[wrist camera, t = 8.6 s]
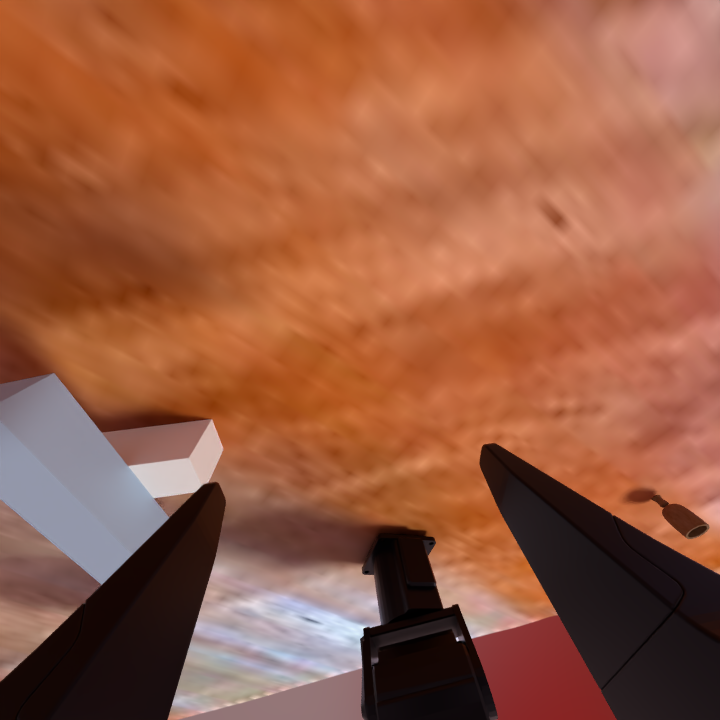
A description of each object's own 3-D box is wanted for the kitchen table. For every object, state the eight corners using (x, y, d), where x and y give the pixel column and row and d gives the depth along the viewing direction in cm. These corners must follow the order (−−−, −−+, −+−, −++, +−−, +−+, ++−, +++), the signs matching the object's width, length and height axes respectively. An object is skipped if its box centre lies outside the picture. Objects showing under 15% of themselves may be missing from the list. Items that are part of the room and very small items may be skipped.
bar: (196, 552, 21) (177, 600, 18) (157, 561, 21) (132, 610, 18) (54, 373, 14) (-13, 408, 11) (-7, 385, 14) (-88, 424, 11)
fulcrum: (205, 357, 19) (170, 396, 15) (247, 476, 25) (231, 531, 20) (38, 375, 19) (-52, 421, 14) (119, 494, 24) (72, 555, 19)
